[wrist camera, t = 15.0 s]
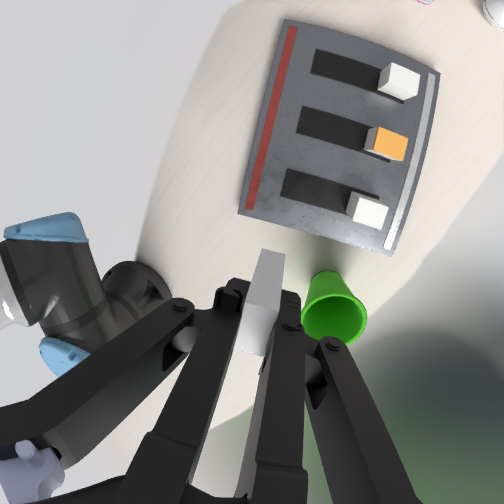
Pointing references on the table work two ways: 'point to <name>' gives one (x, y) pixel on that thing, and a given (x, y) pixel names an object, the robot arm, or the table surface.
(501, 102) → the table surface
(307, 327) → the cup
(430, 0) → the pill bottle
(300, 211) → the panel
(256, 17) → the table surface
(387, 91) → the block
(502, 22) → the white oval ovoid
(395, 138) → the block
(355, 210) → the block
